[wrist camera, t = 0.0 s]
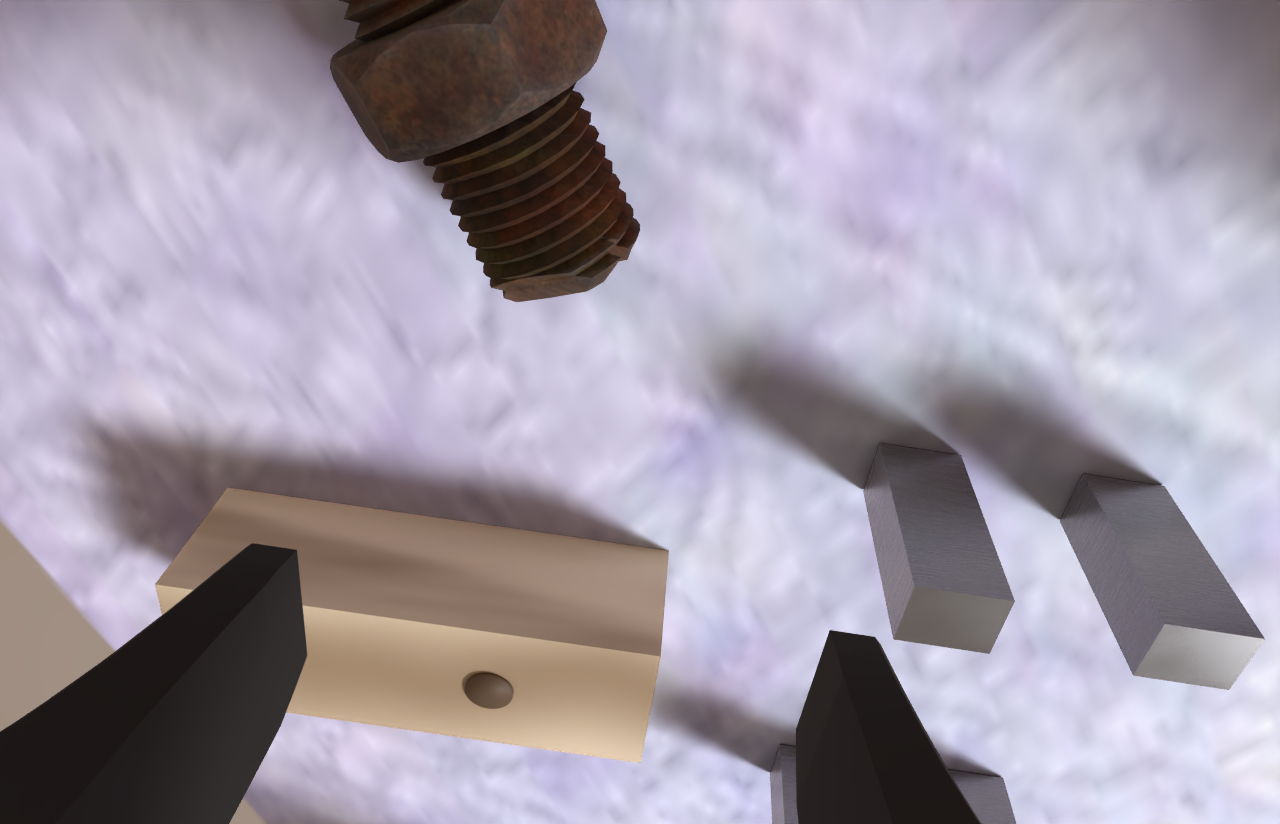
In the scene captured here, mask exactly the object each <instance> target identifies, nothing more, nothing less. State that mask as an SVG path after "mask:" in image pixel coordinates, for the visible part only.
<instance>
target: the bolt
mask: <svg viewBox="0 0 1280 824" xmlns="http://www.w3.org/2000/svg"><path fill="white" fill-rule="evenodd" d="M340 1H343V2H347V3H350V4H349V7H348V9H347V12H346V15H345V18H344V19H347V20H351V21H355V22H359V23H360V25H359V28H358V30H357V33H356V36H355V39H356V40H355V41H353V42H352V43H350V44H348V45H347V46H345V47H344V48H343V49H341V50H340V51H338V52H337V53H336V54H334V55H333V57H332V59H331V63H330V69H331V73H332V76H333V80H334V81H335V83H336V85H337V87H338V88H339V90H340V92H341V94H342V95H343V97H344V99H345V101H346V102H347V104H348V106H349V108H350V109H351V111H352V113H353V115H354V116H355V118H356V120H357V122H358V123H359V125H360V127H361V129H362V130H363V132H364V134H365V135H366V137H367V138H368V139H369V141H370V142H371V143H372V144H373V146H374V147H375V148H376V149H377V151H378V152H380V153H381V154H382V155H383V156H384V157H385V158H386V159H389V160H392V161H395V162H405V161H412V160H417V159H421V158H424V157H425V159H424V161H423V163H424V164H425V166H433V167H436V169H435V172H434V175H433V178H432V179H433V181H434V182H437V183H445V184H444V187H443V190H442V193H441V195H442V197H443V199H450V200H453V202H452V205H451V208H450V212H451V213H452V215H457V216H461V219H460V222H459V225H458V226H459V227H460V229H461V230H462V231H464V232H469V235H468V238H467V243H468V244H469V246H472V247H475V248H477V249H476V260H478V261H481V262H483V263H484V266H483V272H484V274H485V275H486V276H488V277H490V278H491V279H490V286H491V288H495V289H499V290H503V296H504V298H506V299H509V300H512V301H515V302H522V301H529V300H537V299H544V298H551V297H557V296H563V295H568V294H574V293H580V292H586V291H588V290H590V289H592V288H594V287H595V286H597V285H599V284H601V283H602V282H604V281H605V279H606V278H607V277H608V275H609V274H610V273H611V271H612V270H613V268H614V267H615V266H616V264H617V263H618V261H623V260H627V259H628V257H629V254H630V252H631V249H632V247H633V245H634V243H635V241H636V239H637V237H638V234H639V231H640V224H639V223H638V221H637V220H636V219H634V218H633V208H632V207H631V205H630V204H628V203H627V202H626V193H625V192H623V191H622V190H621V189H620V188H619V185H620V181H619V179H618V178H617V176H616V174H613V173H612V162H611V161H610V160H608V159H606V158H605V145H603V144H601V143H599V142H597V141H596V140H597V138H598V135H599V132H598V131H597V129H596V128H595V126H592V125H589V123H590V122H591V113H590V112H588V111H586V110H584V109H582V108H580V107H581V105H582V103H583V101H584V98H583V97H582V95H581V94H580V93H578V92H576V91H573V88H574V86H575V84H576V82H577V81H578V80H579V79H581V78H582V77H583V76H584V75H585V74H587V73H588V72H589V71H590V70H591V68H592V67H593V66H594V64H595V63H596V61H597V59H598V56H599V53H600V50H601V47H602V44H603V42H604V39H605V36H606V33H607V29H606V26H605V24H604V21H603V19H602V17H601V14H600V12H599V9H598V7H597V4H596V2H595V0H340Z"/></svg>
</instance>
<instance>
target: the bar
mask: <svg viewBox="0 0 1280 824" xmlns="http://www.w3.org/2000/svg"><path fill="white" fill-rule="evenodd" d="M251 543H255V544H262V545H269V546H275V547H282V548H288V549H295V550H297V554H298V565H299V575H300V585H301V595H302V605H303V615H304V625H305V636H306V646H307V658H306V661H305V664H304V666H303V669H302V672H301V674H300V677H299V680H298V683H297V685H296V688H295V691H294V693H293V696H292V698H291V701H290V703H289V706H288V708H287V711H286V712H287V713H294V714H301V715H308V716H315V717H322V718H329V719H336V720H343V721H350V722H357V723H364V724H371V725H378V726H385V727H392V728H399V729H406V730H413V731H420V732H427V733H434V734H441V735H448V736H455V737H462V738H469V739H476V740H483V741H490V742H497V743H504V744H511V745H518V746H525V747H532V748H539V749H546V750H553V751H560V752H567V753H574V754H581V755H588V756H595V757H602V758H609V759H616V760H623V761H630V762H637V763H641V757H642V752H643V747H644V742H645V736H646V731H647V726H648V720H649V715H650V710H651V704H652V699H653V694H654V688H655V683H656V678H657V673H658V667H659V662H660V657H661V644H662V631H663V618H664V605H665V592H666V580H667V567H668V554H669V551H667V550H660V549H653V548H646V547H639V546H632V545H625V544H618V543H611V542H604V541H597V540H590V539H583V538H576V537H569V536H562V535H555V534H548V533H541V532H534V531H527V530H520V529H513V528H506V527H499V526H492V525H485V524H478V523H472V522H465V521H458V520H451V519H444V518H437V517H430V516H423V515H416V514H409V513H402V512H395V511H388V510H381V509H374V508H367V507H360V506H353V505H346V504H339V503H332V502H325V501H318V500H311V499H304V498H297V497H290V496H283V495H276V494H269V493H262V492H255V491H248V490H241V489H234V488H227V489H226V490H225V492H224V493H223V494H222V496H221V497H220V498H219V500H218V501H217V502H216V504H215V505H214V506H213V508H212V509H211V510H210V512H209V513H208V514H207V516H206V517H205V518H204V520H203V521H202V522H201V524H200V525H199V526H198V528H197V529H196V530H195V532H194V533H193V534H192V536H191V537H190V538H189V540H188V541H187V542H186V544H185V545H184V546H183V548H182V549H181V550H180V552H179V553H178V555H177V556H176V557H175V559H174V560H173V561H172V563H171V564H170V565H169V567H168V568H167V569H166V571H165V572H164V573H163V575H162V576H161V577H160V579H159V580H158V581H157V583H156V584H155V586H156V590H157V595H158V599H159V603H160V608H161V612H162V615H163V614H164V613H166V612H167V611H168V610H169V609H170V608H172V607H173V606H174V605H175V604H177V603H178V602H179V601H180V600H182V599H183V598H184V597H185V596H187V595H188V594H189V593H190V592H192V591H193V590H194V589H195V588H196V587H198V586H199V585H200V584H201V583H203V582H204V581H205V580H206V579H207V578H209V577H210V576H211V575H212V574H213V573H215V572H216V571H217V570H218V569H220V568H221V567H222V566H223V565H224V564H226V563H227V562H228V561H229V560H231V559H232V558H233V557H234V556H236V555H237V554H238V553H239V552H241V551H242V550H243V549H244V548H246V547H247V546H249V545H250V544H251Z"/></svg>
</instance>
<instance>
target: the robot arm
mask: <svg viewBox="0 0 1280 824" xmlns="http://www.w3.org/2000/svg"><path fill="white" fill-rule="evenodd" d="M306 658H307V646H306V636H305V625H304V615H303V605H302V595H301V585H300V575H299V565H298V554H297V550H295V549H288V548H282V547H275V546H269V545H262V544H255V543H251V544H250V545H249V546H247V547H246V548H244V549H243V550H242V551H241V552H239V553H238V554H237V555H236V556H234V557H233V558H232V559H231V560H229V561H228V562H227V563H226V564H224V565H223V566H222V567H221V568H220V569H218V570H217V571H216V572H215V573H213V574H212V575H211V576H210V577H209V578H207V579H206V580H205V581H204V582H203V583H201V584H200V585H199V586H198V587H196V588H195V589H194V590H193V591H192V592H190V593H189V594H188V595H187V596H185V597H184V598H183V599H182V600H180V601H179V602H178V603H177V604H175V605H174V606H173V607H172V608H170V609H169V610H168V611H167V612H166V613H164V614H163V615H162V616H160V617H159V618H158V619H157V620H155V621H154V622H153V623H151V624H150V625H149V626H148V627H146V628H145V629H144V630H142V631H141V632H140V633H139V634H137V635H136V636H135V637H133V638H132V639H131V640H130V641H128V642H127V643H126V644H124V645H123V646H122V647H120V648H119V649H118V650H117V651H115V652H114V653H113V654H111V655H110V656H109V657H107V658H106V659H105V660H103V661H102V662H101V663H99V664H98V665H97V666H95V667H94V668H92V669H91V670H89V671H88V672H87V673H85V674H84V675H83V676H81V677H80V678H78V679H77V680H75V681H74V682H73V683H71V684H70V685H68V686H67V687H66V688H64V689H63V690H61V691H60V692H58V693H57V694H56V695H54V696H53V697H51V698H50V699H49V700H47V701H46V702H44V703H43V704H42V705H40V706H39V707H37V708H36V709H34V710H33V711H31V712H30V713H28V714H27V715H25V716H24V717H22V718H21V719H19V720H18V721H16V722H15V723H13V724H12V725H10V726H9V727H7V728H5V729H4V730H2V731H1V732H0V824H229V823H230V821H231V819H232V817H233V815H234V813H235V812H236V810H237V808H238V806H239V804H240V802H241V800H242V798H243V797H244V795H245V793H246V791H247V789H248V787H249V785H250V784H251V782H252V780H253V778H254V776H255V774H256V772H257V770H258V768H259V766H260V765H261V763H262V761H263V759H264V757H265V755H266V753H267V751H268V749H269V747H270V745H271V744H272V742H273V740H274V738H275V736H276V734H277V732H278V730H279V728H280V726H281V723H282V721H283V718H284V716H285V713H286V711H287V708H288V706H289V703H290V701H291V698H292V696H293V693H294V691H295V688H296V685H297V683H298V680H299V677H300V674H301V672H302V669H303V666H304V664H305V661H306ZM796 804H797V814H798V823H799V824H981V822H980V821H979V819H978V818H977V816H976V815H975V813H974V811H973V810H972V808H971V807H970V805H969V803H968V802H967V800H966V799H965V797H964V795H963V794H962V792H961V790H960V789H959V787H958V785H957V784H956V782H955V780H954V779H953V777H952V775H951V774H950V772H949V770H948V769H947V767H946V765H945V763H944V762H943V760H942V758H941V757H940V755H939V753H938V752H937V750H936V748H935V747H934V745H933V743H932V741H931V739H930V738H929V736H928V734H927V732H926V731H925V729H924V727H923V725H922V723H921V721H920V720H919V718H918V716H917V714H916V712H915V710H914V709H913V707H912V705H911V703H910V701H909V699H908V697H907V695H906V694H905V692H904V690H903V688H902V686H901V684H900V682H899V680H898V678H897V676H896V674H895V672H894V670H893V668H892V666H891V664H890V662H889V660H888V658H887V656H886V654H885V652H884V650H883V648H882V646H881V644H880V643H879V642H878V640H877V639H876V638H875V637H872V636H865V635H858V634H852V633H845V632H838V631H832V630H830V631H829V634H828V637H827V640H826V643H825V646H824V649H823V652H822V655H821V658H820V661H819V664H818V667H817V669H816V672H815V675H814V678H813V681H812V684H811V687H810V690H809V693H808V696H807V699H806V702H805V705H804V708H803V711H802V714H801V717H800V719H799V722H798V725H797V728H796Z"/></svg>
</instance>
